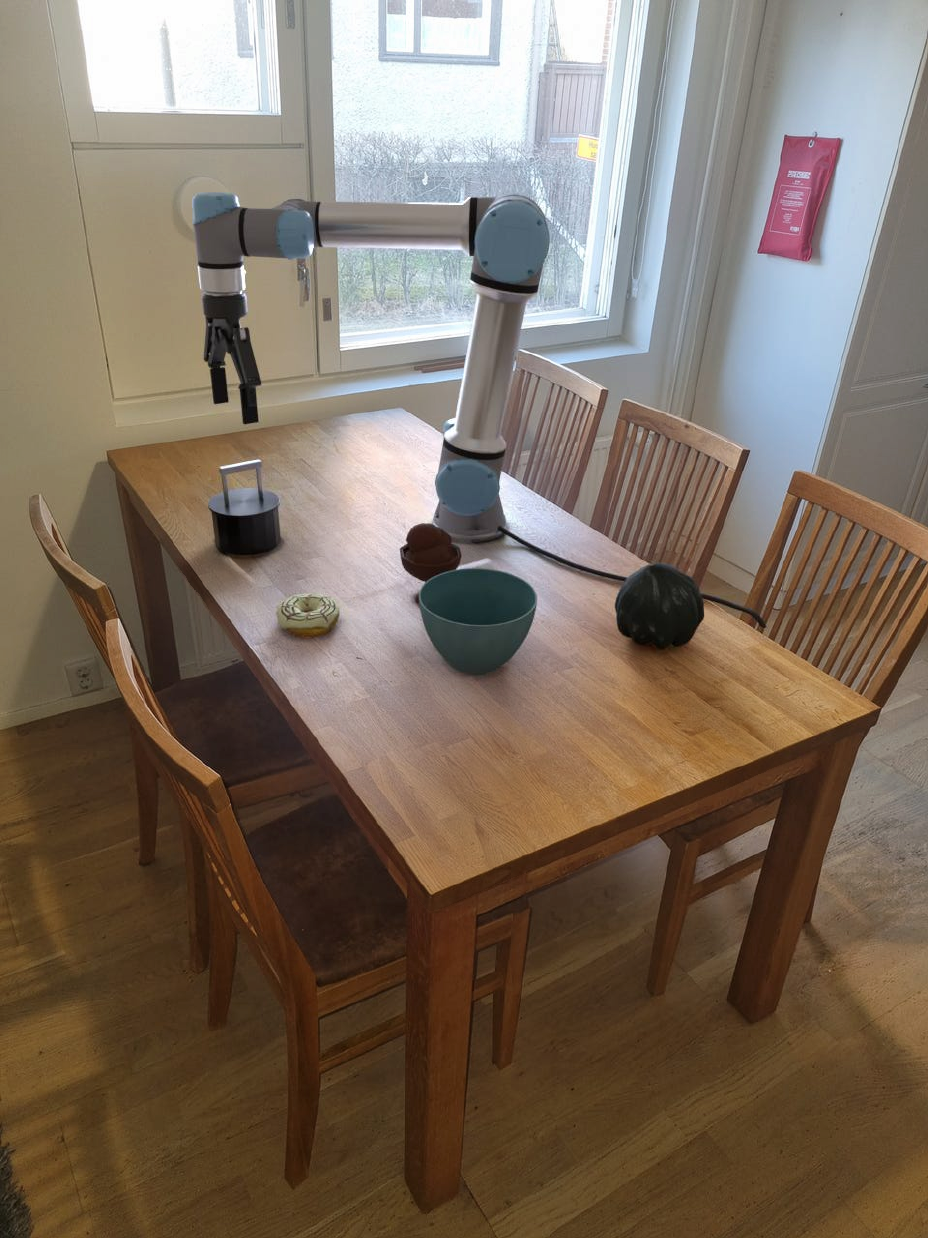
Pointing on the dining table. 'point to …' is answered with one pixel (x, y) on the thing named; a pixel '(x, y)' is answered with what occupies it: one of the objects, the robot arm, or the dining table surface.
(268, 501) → the lid
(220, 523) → the pot
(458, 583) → the teal bowl
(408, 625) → the dining table surface
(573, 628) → the dining table surface
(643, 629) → the squash
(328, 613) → the decorated donut
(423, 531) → the ice cream bowl
